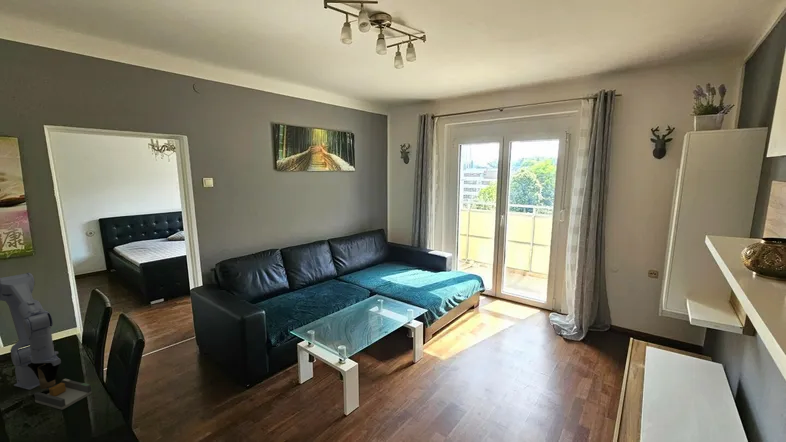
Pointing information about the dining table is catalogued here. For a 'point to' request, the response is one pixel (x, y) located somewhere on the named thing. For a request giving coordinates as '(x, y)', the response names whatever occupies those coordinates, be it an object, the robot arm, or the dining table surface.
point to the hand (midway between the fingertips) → (47, 379)
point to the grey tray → (65, 395)
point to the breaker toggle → (57, 389)
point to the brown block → (44, 380)
